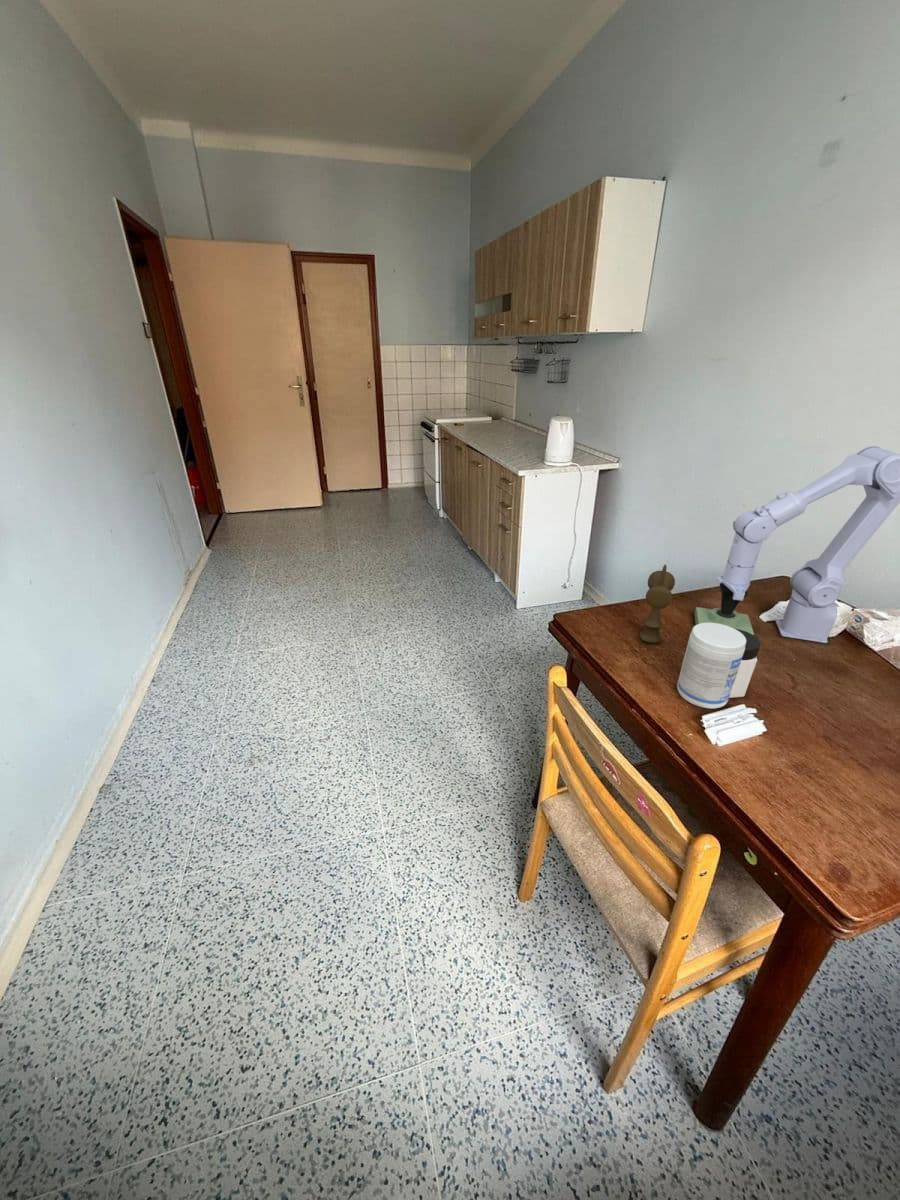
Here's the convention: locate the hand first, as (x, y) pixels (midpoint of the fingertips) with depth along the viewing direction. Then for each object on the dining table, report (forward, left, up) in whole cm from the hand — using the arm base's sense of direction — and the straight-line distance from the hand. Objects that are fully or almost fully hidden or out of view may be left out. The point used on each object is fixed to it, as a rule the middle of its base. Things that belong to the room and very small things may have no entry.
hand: (725, 613), depth 117 cm
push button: (0, 0, -2) cm, 2 cm away
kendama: (+17, +12, -4) cm, 21 cm away
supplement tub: (+7, +31, -4) cm, 32 cm away
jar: (+2, +26, -4) cm, 26 cm away
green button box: (0, 0, -4) cm, 4 cm away
